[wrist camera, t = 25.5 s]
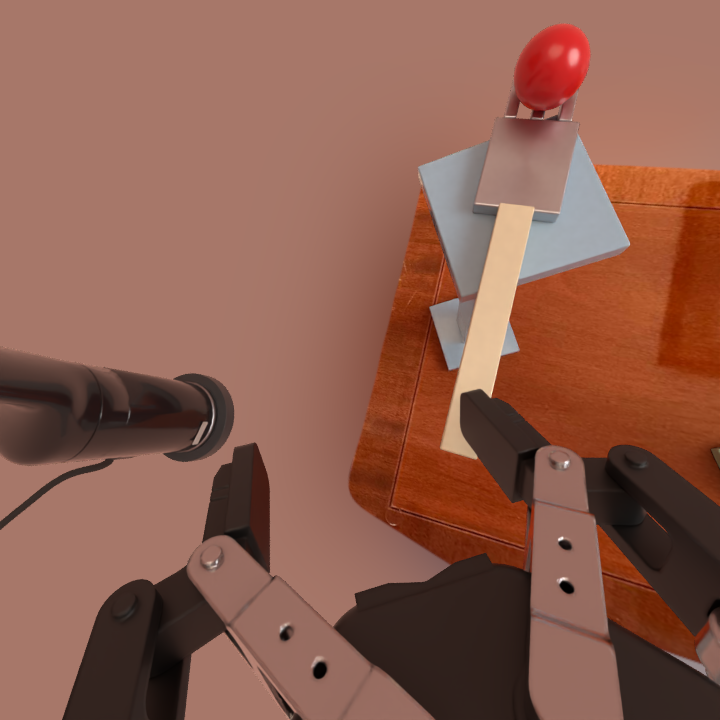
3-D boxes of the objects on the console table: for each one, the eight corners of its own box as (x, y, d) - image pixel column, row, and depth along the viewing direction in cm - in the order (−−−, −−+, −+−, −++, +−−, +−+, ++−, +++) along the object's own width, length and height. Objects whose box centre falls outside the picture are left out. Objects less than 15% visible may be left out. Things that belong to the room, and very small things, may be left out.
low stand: (448, 371, 42) (461, 297, 18) (429, 309, 44) (417, 166, 20) (518, 352, 41) (631, 244, 17) (495, 289, 42) (568, 109, 18)
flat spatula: (501, 465, 16) (518, 476, 13) (414, 440, 17) (408, 443, 14) (586, 81, 19) (620, 2, 15) (506, 78, 20) (520, 3, 16)
